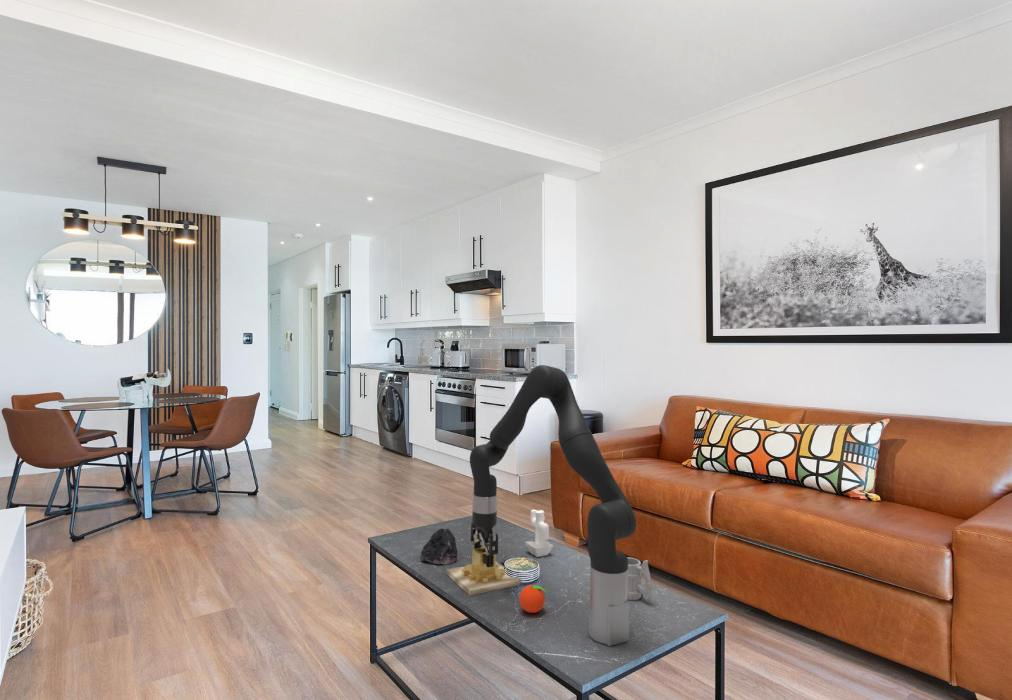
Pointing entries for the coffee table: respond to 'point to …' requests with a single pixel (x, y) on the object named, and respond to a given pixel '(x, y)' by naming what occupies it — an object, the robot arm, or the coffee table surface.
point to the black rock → (440, 548)
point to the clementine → (532, 598)
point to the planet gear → (482, 568)
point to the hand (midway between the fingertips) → (483, 561)
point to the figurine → (539, 535)
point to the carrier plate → (479, 587)
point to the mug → (638, 579)
